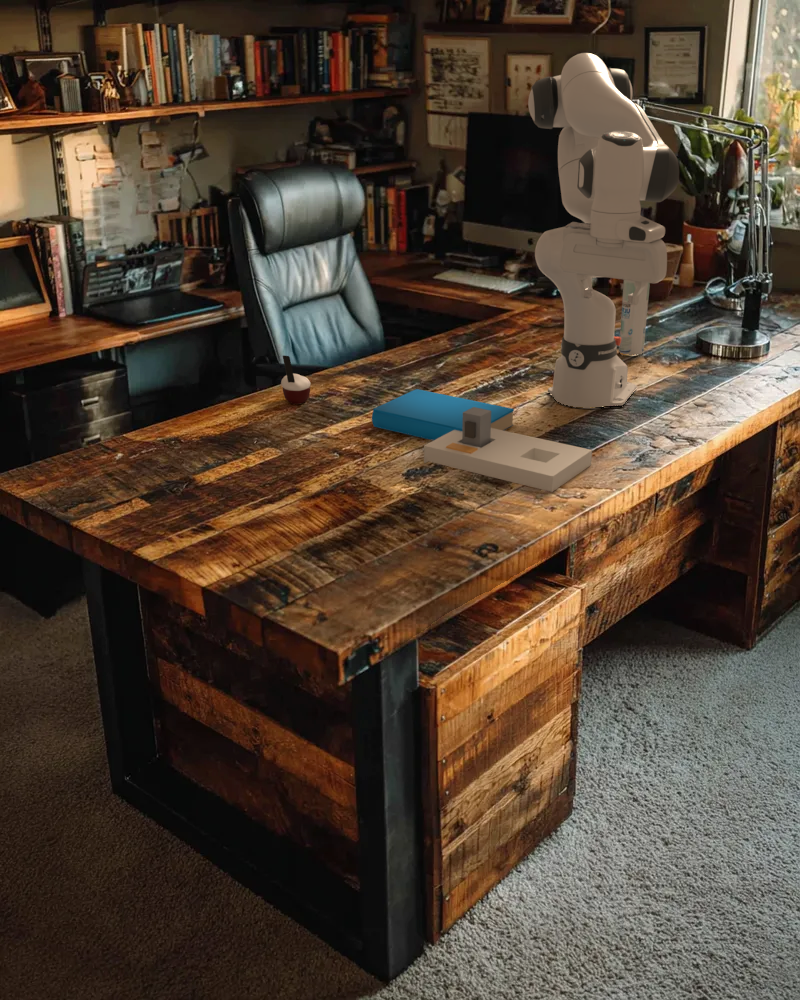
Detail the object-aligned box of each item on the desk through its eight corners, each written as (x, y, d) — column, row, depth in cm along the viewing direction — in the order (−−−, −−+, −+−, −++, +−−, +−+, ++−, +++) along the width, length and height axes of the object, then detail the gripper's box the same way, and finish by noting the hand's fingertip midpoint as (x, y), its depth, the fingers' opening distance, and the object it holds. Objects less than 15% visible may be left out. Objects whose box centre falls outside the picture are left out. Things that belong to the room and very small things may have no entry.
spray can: (648, 355, 281) (654, 278, 273) (625, 357, 279) (631, 280, 271) (636, 349, 287) (642, 273, 279) (614, 351, 285) (619, 275, 277)
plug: (472, 449, 217) (473, 407, 213) (490, 454, 215) (491, 410, 211) (459, 457, 213) (460, 413, 210) (477, 461, 211) (478, 417, 208)
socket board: (467, 441, 224) (467, 421, 223) (590, 469, 210) (592, 448, 208) (424, 464, 212) (423, 444, 211) (551, 496, 198) (552, 474, 196)
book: (415, 388, 242) (514, 406, 229) (416, 407, 244) (514, 426, 231) (370, 409, 229) (472, 430, 216) (371, 429, 231) (472, 450, 218)
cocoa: (300, 396, 254) (298, 345, 250) (320, 400, 250) (318, 349, 246) (271, 404, 247) (268, 352, 243) (290, 409, 243) (288, 356, 239)
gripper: (555, 223, 202) (552, 297, 207) (659, 233, 191) (653, 311, 197) (571, 218, 207) (567, 290, 212) (673, 228, 196) (666, 304, 201)
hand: (609, 300), depth 204 cm, fingers open, 8 cm apart
